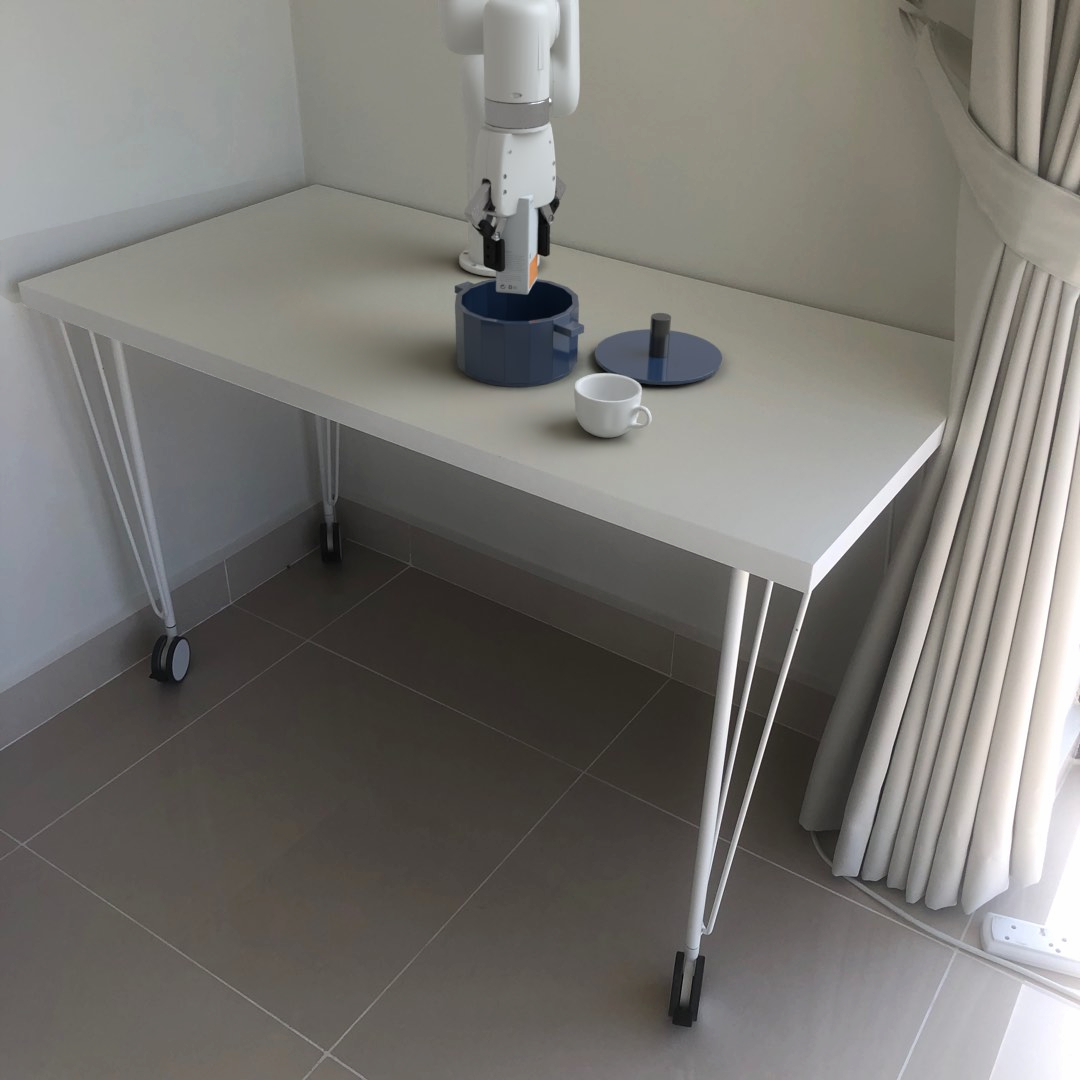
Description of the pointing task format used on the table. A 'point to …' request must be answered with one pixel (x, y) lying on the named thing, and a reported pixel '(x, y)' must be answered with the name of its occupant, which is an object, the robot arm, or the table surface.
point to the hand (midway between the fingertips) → (516, 260)
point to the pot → (516, 333)
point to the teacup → (609, 404)
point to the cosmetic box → (520, 249)
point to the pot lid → (659, 354)
